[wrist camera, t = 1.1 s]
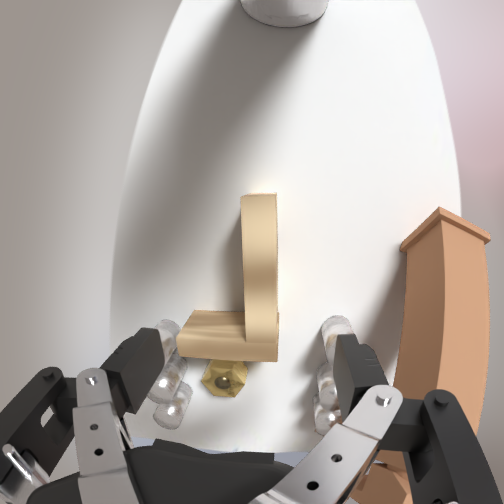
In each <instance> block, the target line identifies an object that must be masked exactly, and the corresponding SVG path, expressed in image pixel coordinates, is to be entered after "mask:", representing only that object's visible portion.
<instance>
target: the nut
mask: <svg viewBox="0 0 504 504" xmlns="http://www.w3.org/2000/svg"><path fill="white" fill-rule="evenodd" d="M247 371H248V368H247V367H246V366H245V364H244V363H243V362H242V361H232V360H217V359H211V361H210V362H209V364H208V366H207V368H206V370H205V373H204V375H203V378H202V380H201V382H202V383H203V384H204V385H205V386H206V387H207V389H208V390H209V391H210V392H211V393H212V394H213V395H214V396H224V397H235V396H236V395H237V394H238V393H239V391H240V390H241V389H242V388H243V386H244V385H245V381H246V376H247Z"/></svg>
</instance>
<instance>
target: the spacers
mask: <svg viewBox="0 0 504 504" xmlns="http://www.w3.org/2000/svg"><path fill="white" fill-rule="evenodd" d="M154 329H158V331H159V333H160V338H161V342H162V347H163V352H164V356H165V364H164V368H163V370H162V371H161V373H160V375H159V376H158V378H157V380H156V381H155V383H154V385H153V386H152V388H151V390H150V391H149V393H148V395H147V396H148V398H150V399H151V400H152V401H154V402H156V403H158V404H159V405H158V407H157V409H156V411H155V413H154V415H153V418H154V420H155V421H156V422H157V423H158V424H159V425H160V426H162V427H164V428H167V429H177V428H178V427H179V425H180V423H181V420H182V418H183V415H184V413H185V411H186V408H187V406H188V404H189V401H190V399H191V396H192V394H193V391H192V389H191V387H190V386H189V385H188V384H186V383H185V382H182V381H181V380H182V378H183V376H184V374H185V372H186V370H187V362H186V360H185V359H184V358H183V357H182V356H179V354H177V353H173V351H174V350H175V348H176V346H177V342H176V337H177V335H178V334H179V332H180V331H181V329H180V327H179V326H178V325H177V324H176V323H175V322H173V321H171V320H162V321H160V322H159V323H158V324H157V325H156V326H155V328H154ZM321 333H322V337H323V342H324V347H325V351H326V356H327V360H328V362H327V363H324V364H323V365H321V366H320V367H319V368H318V370H317V380H318V388H319V393H317V394H316V395H315V396H314V398H313V404H314V415H315V427H316V432H317V433H318V434H320V435H326V434H327V433H328V432H329V431H330V429H331V428H332V427H333V426H334V425H335V424H336V423H339V422H340V421H341V418H340V416H341V412H340V407H339V402H338V397H337V392H336V387H335V382H334V377H333V362H334V354H335V347H336V339H337V335H338V334H354V332H353V330H352V327H351V325H350V323H349V321H348V319H347V318H345V317H343V316H339V315H337V316H332V317H330V318H328V319H327V320H326V321H325V322H324V323H323V325H322V327H321Z"/></svg>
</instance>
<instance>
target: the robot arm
mask: <svg viewBox="0 0 504 504" xmlns="http://www.w3.org/2000/svg"><path fill="white" fill-rule="evenodd" d="M240 1H241V4H242V7H243V8H244V10H245V11H246V13H248V14H249V15H250V16H251V17H252V18H254V19H256V20H258V21H259V22H262V23H265V24H268V25H272V26H277V27H297V26H302V25H306V24H308V23H311V22H314V21H315V20H317V19H318V18H320V17H321V16H322V14H323V13H324V12H325V10H326V8H327V5H328V1H329V0H240ZM164 364H165V356H164V352H163V347H162V342H161V338H160V333H159V331H158V329H153V328H141V329H140V330H139V331H138V332H137V333H136V334H135V335H134V336H132V337H130V338H128V339H126V340H125V341H123V342H122V343H121V344H120V345H119V347H118V348H117V349H116V350H115V351H114V353H112V354H111V355H110V357H109V358H108V359H107V360H106V361H105V362H104V363H103V364H102V366H101V367H100V368H90V369H86V370H84V371H82V372H81V373H80V374H79V375H78V376H77V378H64V376H63V373H62V371H61V370H60V369H59V368H57V367H48V368H45V369H42V370H41V371H40V372H38V373H37V374H36V375H35V377H33V378H32V380H31V381H30V382H29V383H28V384H27V385H26V386H25V387H24V388H23V389H22V390H21V391H20V392H19V393H18V394H17V395H16V397H14V398H13V400H12V401H11V402H10V403H9V404H8V405H7V406H6V407H5V408H4V409H3V410H2V412H1V413H0V499H2V500H3V501H5V502H6V503H7V504H345V502H346V501H347V500H348V499H349V497H350V496H351V495H352V493H353V492H354V490H355V489H356V487H357V486H358V484H359V483H360V481H361V480H362V478H363V477H364V475H365V474H366V472H367V471H368V469H369V468H370V466H371V465H372V464H373V462H374V461H375V459H376V457H377V456H378V454H379V453H380V451H381V450H388V451H401V452H402V454H403V458H404V462H405V466H406V471H407V476H408V480H409V485H410V490H411V495H412V501H413V504H503V503H502V500H501V497H500V494H499V491H498V488H497V486H496V483H495V480H494V477H493V475H492V472H491V470H490V467H489V465H488V462H487V460H486V458H485V456H484V453H483V451H482V449H481V446H480V444H479V442H478V440H477V438H476V436H475V433H474V431H473V429H472V427H471V425H470V423H469V421H468V419H467V417H466V415H465V413H464V411H463V409H462V407H461V406H460V404H459V402H458V400H457V398H456V397H455V395H454V394H452V393H451V392H449V391H447V390H443V389H435V390H432V391H430V392H428V393H427V394H426V395H425V397H424V400H420V399H408V398H403V396H402V394H401V392H400V391H399V390H398V389H396V388H394V387H392V386H389V384H388V382H387V379H386V377H385V375H384V372H383V370H382V368H381V366H380V363H379V361H378V359H377V357H376V355H375V352H374V350H373V349H371V348H370V347H369V346H368V345H367V344H360V345H359V343H358V340H357V338H356V335H355V334H338V335H337V339H336V347H335V354H334V362H333V377H334V382H335V387H336V392H337V397H338V402H339V407H340V412H341V418H342V424H341V423H336V424H335V425H334V426H333V427H332V428H331V429H330V431H329V432H328V433H327V434H326V435H325V436H324V437H323V439H322V440H321V441H320V442H319V443H318V444H317V445H316V446H315V447H314V448H313V449H312V450H311V451H310V453H309V454H308V455H307V456H306V457H305V458H304V459H303V460H302V461H301V462H300V463H299V464H298V465H297V466H296V467H295V468H294V467H292V466H289V465H287V464H284V463H281V462H277V461H274V453H262V452H244V451H243V452H233V453H222V454H208V453H205V452H202V451H200V450H197V449H194V448H192V447H189V446H187V445H184V444H181V443H176V442H170V441H165V440H161V439H155V441H154V443H153V445H152V446H142V447H137V448H134V446H133V443H132V440H131V437H130V433H129V430H128V427H127V424H126V421H125V418H124V416H123V415H124V414H125V412H129V413H133V414H136V413H137V411H138V410H139V408H140V406H141V405H142V403H143V401H144V400H145V398H146V396H147V395H148V393H149V391H150V390H151V388H152V386H153V385H154V383H155V381H156V380H157V378H158V376H159V375H160V373H161V371H162V370H163V368H164ZM49 406H50V408H51V409H52V411H53V413H54V414H53V415H52V417H51V418H50V419H49V421H48V422H47V423H46V425H45V426H44V427H42V425H41V416H42V415H43V414H44V412H45V411H46V410H47V409H48V407H49ZM74 436H75V443H76V450H77V457H78V464H79V470H80V471H79V472H77V473H74V474H72V475H69V476H66V477H64V478H61V479H58V480H55V481H53V482H50V483H49V477H50V475H51V473H52V472H53V470H54V468H55V467H56V465H57V463H58V462H59V460H60V458H61V457H62V455H63V454H64V452H65V450H66V449H67V447H68V446H69V444H70V442H71V441H72V439H73V438H74Z"/></svg>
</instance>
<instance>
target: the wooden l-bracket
mask: <svg viewBox="0 0 504 504" xmlns="http://www.w3.org/2000/svg"><path fill="white" fill-rule="evenodd" d="M241 225H242V252H243V278H244V302H245V312H229V311H204V310H194V311H193V313H192V314H191V316H190V317H189V319H188V320H187V322H186V323H185V325H184V326H183V328H182V329H181V331H180V332H179V334H178V335H177V337H176V342H177V348H178V353H179V356H183V357H193V358H204V359H217V360H232V361H254V362H277V359H278V337H279V312H278V239H277V193H249V194H247V195H244V196H242V197H241Z"/></svg>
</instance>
